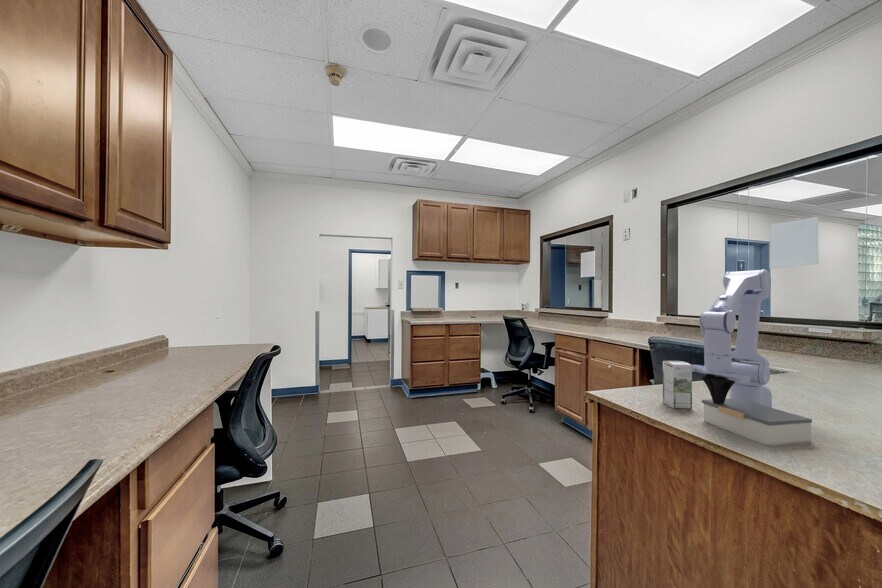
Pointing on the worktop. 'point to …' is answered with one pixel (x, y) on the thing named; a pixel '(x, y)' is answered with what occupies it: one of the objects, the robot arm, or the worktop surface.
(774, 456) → the worktop surface
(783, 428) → the storage box
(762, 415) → the lid
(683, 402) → the syrup box
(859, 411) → the worktop surface
